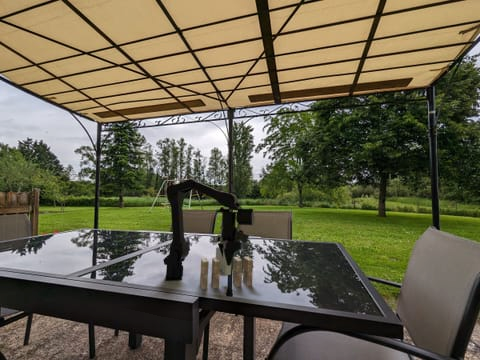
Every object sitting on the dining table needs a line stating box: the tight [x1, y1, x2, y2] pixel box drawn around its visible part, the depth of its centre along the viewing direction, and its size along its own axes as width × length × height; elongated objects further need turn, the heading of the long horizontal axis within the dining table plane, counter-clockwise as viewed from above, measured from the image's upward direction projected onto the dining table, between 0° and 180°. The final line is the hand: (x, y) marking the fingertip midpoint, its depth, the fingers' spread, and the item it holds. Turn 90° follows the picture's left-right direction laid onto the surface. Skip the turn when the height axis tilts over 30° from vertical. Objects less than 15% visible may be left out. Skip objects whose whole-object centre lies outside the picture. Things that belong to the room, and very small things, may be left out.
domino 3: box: [222, 252, 232, 276], centre depth 92 cm, size 2×6×10 cm, turn 17°
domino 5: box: [242, 256, 254, 287], centre depth 94 cm, size 2×6×10 cm, turn 17°
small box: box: [215, 246, 223, 271], centre depth 116 cm, size 8×6×10 cm
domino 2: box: [210, 257, 221, 290], centre depth 90 cm, size 2×6×10 cm, turn 17°
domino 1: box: [199, 257, 209, 290], centre depth 89 cm, size 2×6×10 cm, turn 17°
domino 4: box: [232, 256, 243, 288], centre depth 93 cm, size 2×6×10 cm, turn 17°
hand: (226, 263), depth 92 cm, fingers closed on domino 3, 6 cm apart
